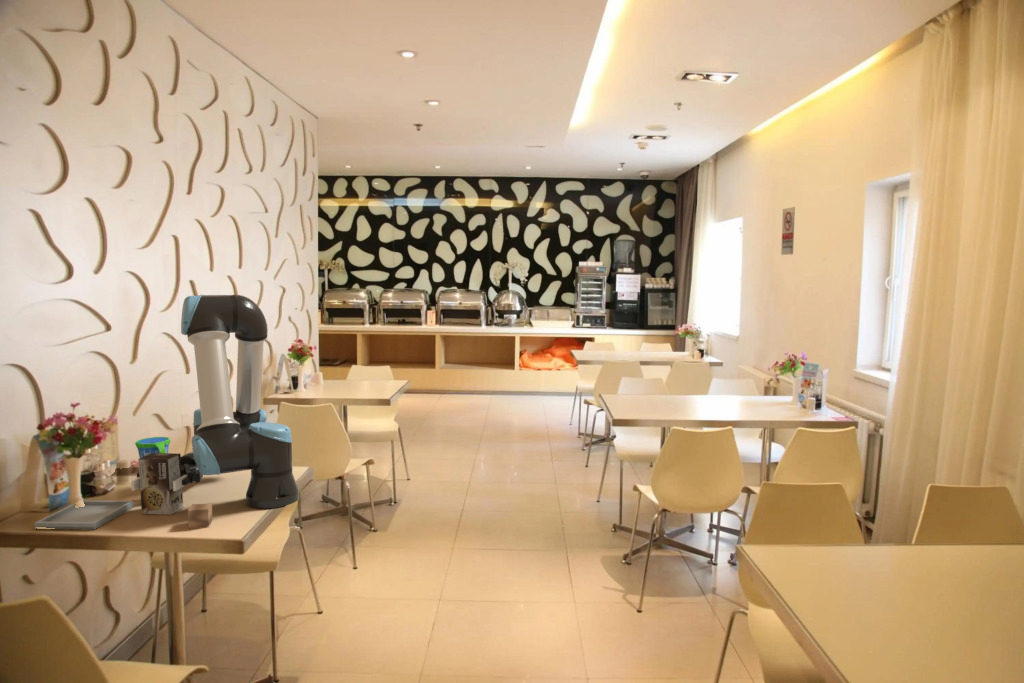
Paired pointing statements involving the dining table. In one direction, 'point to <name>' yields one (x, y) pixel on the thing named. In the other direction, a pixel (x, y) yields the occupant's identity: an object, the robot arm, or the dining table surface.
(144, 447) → the snack cup
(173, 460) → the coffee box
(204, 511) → the walnut block
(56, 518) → the tray
